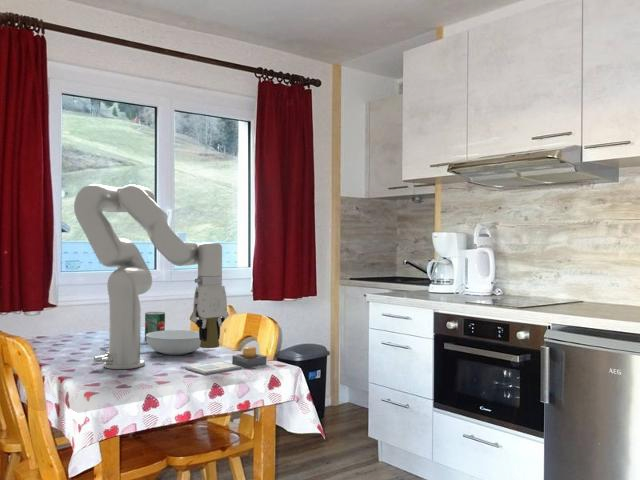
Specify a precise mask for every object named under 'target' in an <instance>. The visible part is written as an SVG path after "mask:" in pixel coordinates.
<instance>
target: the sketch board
mask: <svg viewBox="0 0 640 480" xmlns="http://www.w3.org/2000/svg"><path fill="white" fill-rule="evenodd" d="M241 369H243V367H242V366H238V365H235V364H232V363H228V362H226V361H218V362H210V363H205V364H204V363H203V364H197V365H190V366H185V370H187V371H191V372H192V373H193V372H194V373H197V374H200V375H204V376H206V375H213V374H219V373H224V372H230V371H237V370H241Z"/></svg>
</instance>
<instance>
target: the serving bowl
mask: <svg viewBox="0 0 640 480" xmlns="http://www.w3.org/2000/svg"><path fill="white" fill-rule="evenodd" d="M146 340H147V341H146V342H147V345H148V347H149V348H150V349H152V351H155V352H157V353H161V354H164V355H166V356H167V355H168V356H181V355H182V356H183V355H186V354H189V353H192V352H195V351H197V350H199V349H200V348H201V347H200V343H201V340H200V338H199V331H198V330H197V331H196V330H189V329H188V330H187V329H185V330H182V329H178V330H177V329H174V330H173V329H171V330H166V329H165V331H156V332H151V333H148V334H146Z"/></svg>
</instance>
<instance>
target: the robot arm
mask: <svg viewBox="0 0 640 480" xmlns="http://www.w3.org/2000/svg"><path fill="white" fill-rule="evenodd" d="M73 208H74V210H73V211H74V215H75V217H76V220H77V222H78V224H79V225H80V227H81V229H82V231H83V233H84V234H85V237H86V238H87V241H88V242H89V244H90V247H91V248H92V251H93V253H94V255H95V256H96V259H97V260H98V261H99V264H101V265H102V266H103V267H105V268H116V269H115V270H113V271H112V272H111V274H110V275H109V277H108V279H107V283H106V284H107V294H108V300H109V331H108V332H109V335H108V337H109V339H108V340H109V341H108V344H109V345H108V351H106V352H105V354H103V355H97V356H93V362H94V363H95V364H96V363H97V364H98V363H103V367H104V368H106V369H111V370H129V369H136V368H141V367H143V366H144V365H146V361H145V360H144V359H142V358H141V327H142V326H141V325H142V324H141V321H142V320H141V318H142V317H141V314H142V313H141V311H142V310H141V302H140V299H139V295H143V294H145V293H147V292H148V291H149V290H150V289H151V287H152V285H153V276H152V273H151V271H150V269H149V266H148V264H147V262H146V261H145V259H144V258H143V255H142V254H141V251H140V250H139V248H138V247H137V245H136V244H135V243H134V242H133V241H132V240H129V239H127V238H120V237H119V236H118V235H117V233H116V231H115V229H114V228H113V226H112V223H111V222H110V221H109V220H108V218H107V217H106V216H105V215H104V214H103V212H107V213H128V215H130V217H131V218H133V220H134V221H135V222H136V223H138V225H140V227H141V228H142V229H143V230H144V231H145V232H146V233H147V237H148V238H149V240H150V241H151V244H152V245H153V246H154V247H155V249H156V250H157V251H158V252H159V253H160V254H161V255H162V256H163V257H164V258H165V259H166V260H167V262H170V264H173V265H174V266H177V267H178V266H179V267H184V266H194V265H197V278H195V279H194V283H196V284H197V286H196V287H195V289H194V290H195V291H194V295H193V296H194V297H193V304H192V305H193V306H192V307H193V309H192V310H193V311H192V313H191V315H190V317H189V320H190V321H191V322H193V323H194V324H195V325H196V326H197V328H198V332H199V338H200V340H202V339H203V341H206V340H207V328H205V327H206V321H207V320H206V319H209V318H214V317H216V318H218V320H217V322H216V323H217V331H218V339H219V340H221V339H220V336H221V327H222V325H223V323H224V322H225V320H226V319H227V318H228V317H230V313H229V312H228V301H227V300H228V299H227V292H226V288H225V287H226V286H225V285H223V246H222V244H221V243H220V242H201V243H200V242H194V241H183V240H182V239H181V238H180V237H179V236H178V235H177V234H176V233H175V232H174V231H173V230H172V228H171V227H170V226H169V224H168V214H167V213H166V212H165V210H164V209H162V207H161V206H159V204H157V203H156V196H155V195H154V193H153V191H152V190H151V189H150V188H148V187H145V186H141V185H136V184H128V185H125V186H123V187H115V186H109V185H103V184H98V183H97V184H95V183H92V184H87V185H85V186H83V187H82V188H81V189H80V190H79V191H78V192H77V194H76V196H75V199H74V203H73Z"/></svg>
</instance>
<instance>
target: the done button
mask: <svg viewBox="0 0 640 480" xmlns="http://www.w3.org/2000/svg"><path fill="white" fill-rule="evenodd" d="M242 354H243V357H246V358H252V357H256V354H257V347H256V346H244V347H242Z"/></svg>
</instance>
